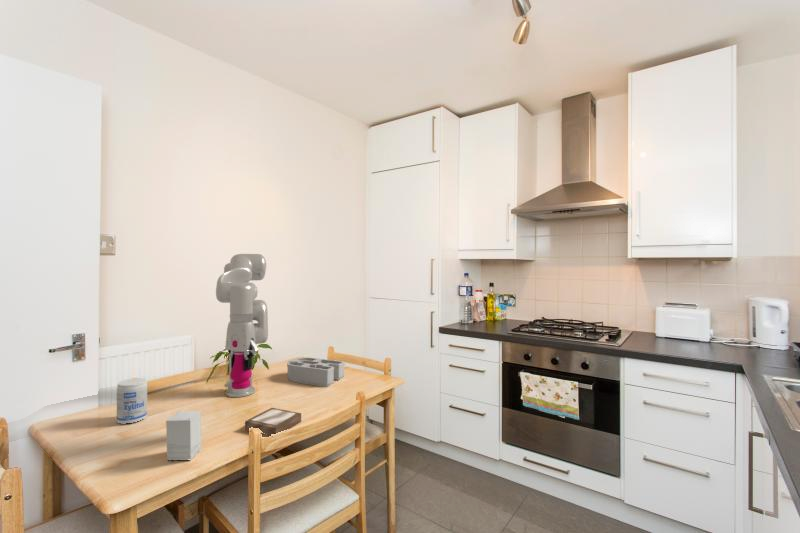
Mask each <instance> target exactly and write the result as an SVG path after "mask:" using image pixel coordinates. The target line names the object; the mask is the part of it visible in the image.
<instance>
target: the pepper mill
mask: <svg viewBox="0 0 800 533" xmlns="http://www.w3.org/2000/svg"><path fill="white" fill-rule="evenodd" d="M237 343H238V342H237V341H233V342H232V346H233V347H237ZM247 353H248V352H247ZM234 354H235V361H234V365H233V367H232V369H231V373H230V378H231V379H232V380H233V382H232V388H233V389H244V388H248V387H249V386H250V385H251V383H250V380H249V378H250V377H251V376H252V377H253V369H252V370H251V369H250V370H247V371H244V360H245V356H244V352H238V351H234Z"/></svg>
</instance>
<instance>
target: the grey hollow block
mask: <svg viewBox="0 0 800 533" xmlns="http://www.w3.org/2000/svg"><path fill="white" fill-rule="evenodd" d="M286 365H287V366H286V367H287V380H288V381H289V382H292V383H299V384H305V385H311V386H317V387H318V386H319V387H324V386H325V388H328V387H330V386H332V385H333V384H334V381H337V380H339V381H341V380H342V379H344V378H345V365H346V362H345V361H341V360H333V359H326V358H325V359H323V358H317V357H316V358H315V357H297V358H293V359H290V360H287V362H286ZM343 377H344V378H343ZM341 378H342V379H341ZM340 379H341V380H340ZM331 384H332V385H331Z"/></svg>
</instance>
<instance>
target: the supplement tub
mask: <svg viewBox="0 0 800 533" xmlns="http://www.w3.org/2000/svg"><path fill="white" fill-rule="evenodd" d="M147 416H148V380H147V378H142V377H141V378H140V377H138V378H129V379H125V380H121V381H119V382H117V387H116V422H117V423H118V424H119V423H121V424H120V425H127V424H126V423H132V424H134V423H133V422H136V423H138V422H137V421H139V422H141V421H143V420H142V419H144V418H145V419H146V418H147ZM145 419H144V420H145ZM140 420H141V421H140Z"/></svg>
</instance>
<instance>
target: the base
mask: <svg viewBox="0 0 800 533" xmlns="http://www.w3.org/2000/svg"><path fill="white" fill-rule="evenodd" d="M301 422H302V412H296V411H291V410H288V409H287V410H285V409H281V408H275V407H270V408H269V409H267V410H265V411H262V412H261V413H258V414H256V415H254V416H253V417H250V418H249V419H247V420H245V421H244V430H245V431H246V430H249V428H251V427H253V428H259V429H260V430H261V431H262V432H263V433H265V434H267V435H266V436H268V435H271V434H276V433H278V432H281V431H284V430H287V429H289V430H290V429H292V428H293V427H295V426H296V425H299V424H300V423H301ZM287 431H288V430H287Z"/></svg>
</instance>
